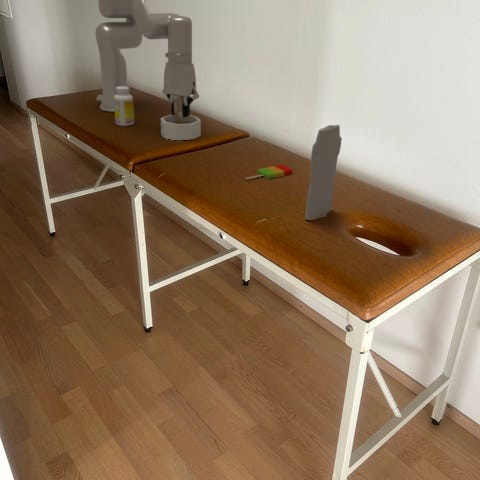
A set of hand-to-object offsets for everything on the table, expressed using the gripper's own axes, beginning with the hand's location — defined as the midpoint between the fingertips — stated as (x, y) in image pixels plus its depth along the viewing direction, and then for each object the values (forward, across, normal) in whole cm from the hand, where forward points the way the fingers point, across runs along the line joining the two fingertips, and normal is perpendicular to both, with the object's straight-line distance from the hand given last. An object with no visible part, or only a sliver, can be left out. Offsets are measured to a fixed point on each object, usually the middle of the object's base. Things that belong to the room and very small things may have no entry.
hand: (180, 115), depth 173 cm
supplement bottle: (+7, -24, +1) cm, 25 cm away
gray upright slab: (+7, +61, -37) cm, 72 cm away
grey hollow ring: (+7, 0, 0) cm, 7 cm away
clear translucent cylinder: (+6, 0, 0) cm, 6 cm away
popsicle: (+8, +40, -19) cm, 45 cm away
